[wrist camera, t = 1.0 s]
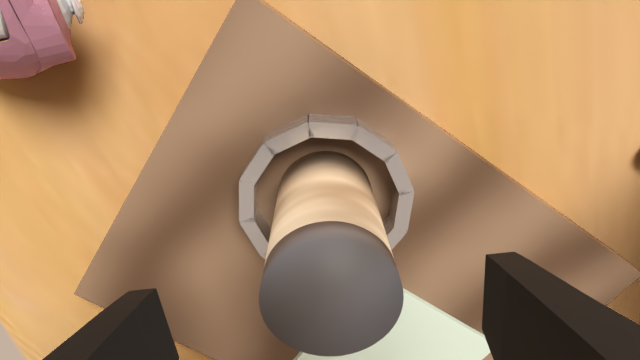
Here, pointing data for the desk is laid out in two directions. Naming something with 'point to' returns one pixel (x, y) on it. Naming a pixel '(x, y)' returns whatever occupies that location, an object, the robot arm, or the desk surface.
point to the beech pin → (328, 260)
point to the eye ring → (330, 129)
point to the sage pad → (421, 337)
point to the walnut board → (223, 189)
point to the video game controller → (35, 35)
